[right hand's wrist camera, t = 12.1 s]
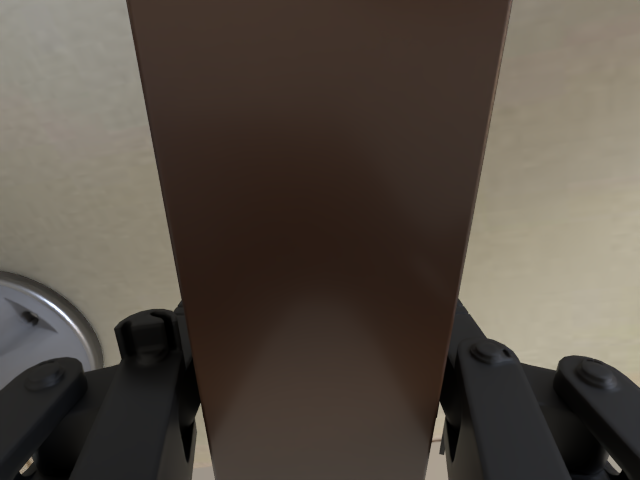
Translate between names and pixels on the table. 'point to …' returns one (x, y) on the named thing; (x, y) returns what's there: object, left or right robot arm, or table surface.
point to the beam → (319, 216)
